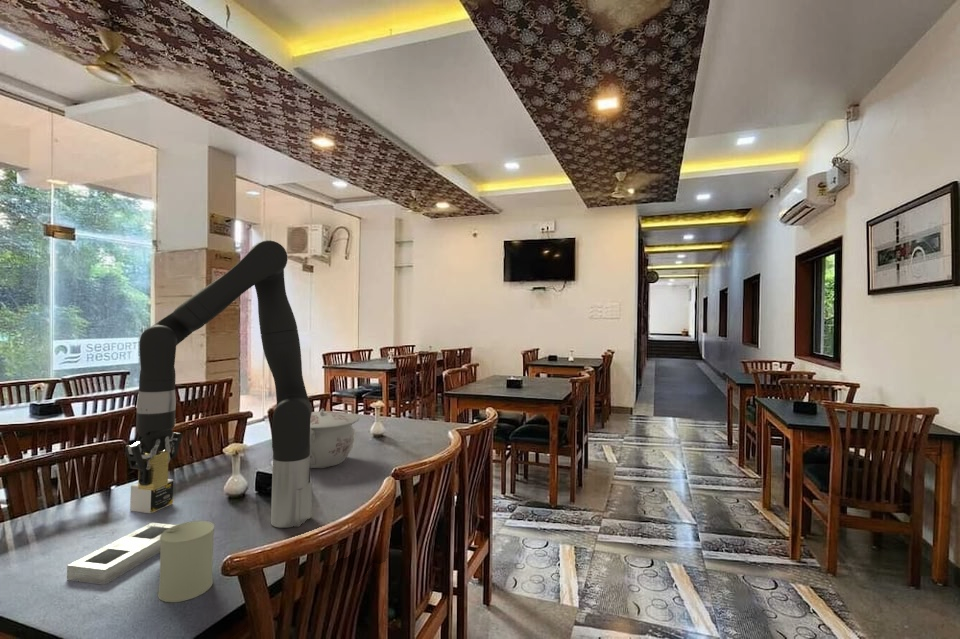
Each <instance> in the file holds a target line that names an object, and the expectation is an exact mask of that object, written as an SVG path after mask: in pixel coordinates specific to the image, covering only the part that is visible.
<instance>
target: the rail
mask: <svg viewBox="0 0 960 639" xmlns="http://www.w3.org/2000/svg"><path fill="white" fill-rule="evenodd" d="M176 525H177V524H169V523H159V522H150V523H148V524H147V525H144V526H142V527H140V528H138V529H136V530H134V531H132V532H130V533H129V534H127V535H125V536H122V537H120V538H118V539H116V540H115V541H112V542H110V543H109V544H107V545H104V546H102V547H101V548H99V549H97V550H95V551H93V552H90V553H89V554H87V555H85V556H82V557H81V558H79V559H77V560H75V561H73V562H71V563H69V564H67V565H66V581H70V580H72V582H78V581H79V583H89V584H95V585H104V586H105V585H107V584H109V583H110V582H112V581H113V580H115V579H117V578H119V577H120V576H122V575H124V574H125V573H127V572H129V571H130V570H132V569H134V568H135V567H137V566H140V565H141V564H143V563H144V562H146V561H147V560H149V559H151V558H153V557H154V556H156V555H157V554H159V553H161V539H160V536H161V534H162V533H163V532H164V531H165V530H167V529H169V528H171V527H173V526H176Z"/></svg>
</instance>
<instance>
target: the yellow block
mask: <svg viewBox="0 0 960 639" xmlns="http://www.w3.org/2000/svg"><path fill="white" fill-rule="evenodd" d="M145 455H150V454H147V453H145ZM168 459H169V451H167V452H165V451H158V452H157V453H156V455H155V456H154V458H153V459H152V465H151V468H150V469H151V483H150V485H148V486H143V485H140V484H139V477H138V478H137V479H138V482H137V483H138V489H143V490H156V489H158V488H160V487H163V486H165V485H167V484H168V479H169V463H168ZM146 461H147V459H144V464H146Z"/></svg>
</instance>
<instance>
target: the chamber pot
mask: <svg viewBox="0 0 960 639" xmlns="http://www.w3.org/2000/svg"><path fill="white" fill-rule="evenodd" d="M359 420H360V416H358V415H356V414H352V413H349V412H345V411H333V410H332V411H331V410H328V411H327V410H325V408H320V411H312V412H311V418H310V466H309V469H312V468H321V469H326V468H325V467H328V468H331V467H330V466H332V467H334V466H337V465H339V464H342V463H343V462H344V461H345V460H346V459H347V458H348V457H349V454H350V453H351V452H352V449H353V446H354V442H355V437H356V436H355V435H356V429H355V428H354V426H353V425H355V424H356V423H357V422H359Z"/></svg>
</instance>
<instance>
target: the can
mask: <svg viewBox="0 0 960 639" xmlns="http://www.w3.org/2000/svg"><path fill="white" fill-rule="evenodd" d="M175 525H176V526H173V527H171V528H169V529H167V530H165V531H164V532H163V533H162V534H161V536H160V539H161V552H159V553H160V557H159V558H160V560H159V562H160V563H159V564H160V565H159V587H158V593H157V597H158V598H159V600H160V601H162V602H164V603H165V602H166V603H180V602H185V601H189V600H192V599H195V598H197V597H200V596H201V595H203V594H204V593H206V592H207V591H208V590H210V588H212V586H213V583H214V579H213V562H214V561H213V560H214V559H213V558H214V532H215V524H214V523H212V522H211V521H208V520H207V521H205V520H193V521H189V522H188V521H187V522H182V523H179V524H175Z"/></svg>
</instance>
